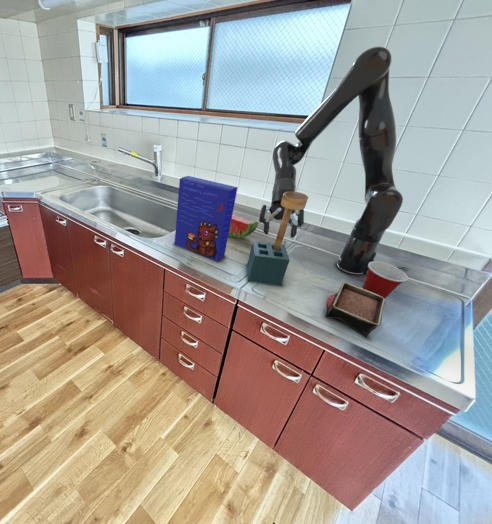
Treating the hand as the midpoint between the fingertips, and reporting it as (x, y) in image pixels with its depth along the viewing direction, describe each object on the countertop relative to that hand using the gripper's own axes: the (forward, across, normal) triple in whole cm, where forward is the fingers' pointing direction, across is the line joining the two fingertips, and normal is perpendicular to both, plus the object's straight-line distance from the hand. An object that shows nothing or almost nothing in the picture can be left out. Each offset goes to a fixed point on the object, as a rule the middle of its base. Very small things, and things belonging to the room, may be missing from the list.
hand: (279, 235), depth 101 cm
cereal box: (+4, -28, +20) cm, 34 cm away
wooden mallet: (+13, +1, +11) cm, 17 cm away
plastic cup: (+16, +33, +8) cm, 38 cm away
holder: (+12, -2, +11) cm, 17 cm away
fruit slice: (-11, -15, +36) cm, 40 cm away
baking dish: (+25, +22, -1) cm, 34 cm away
